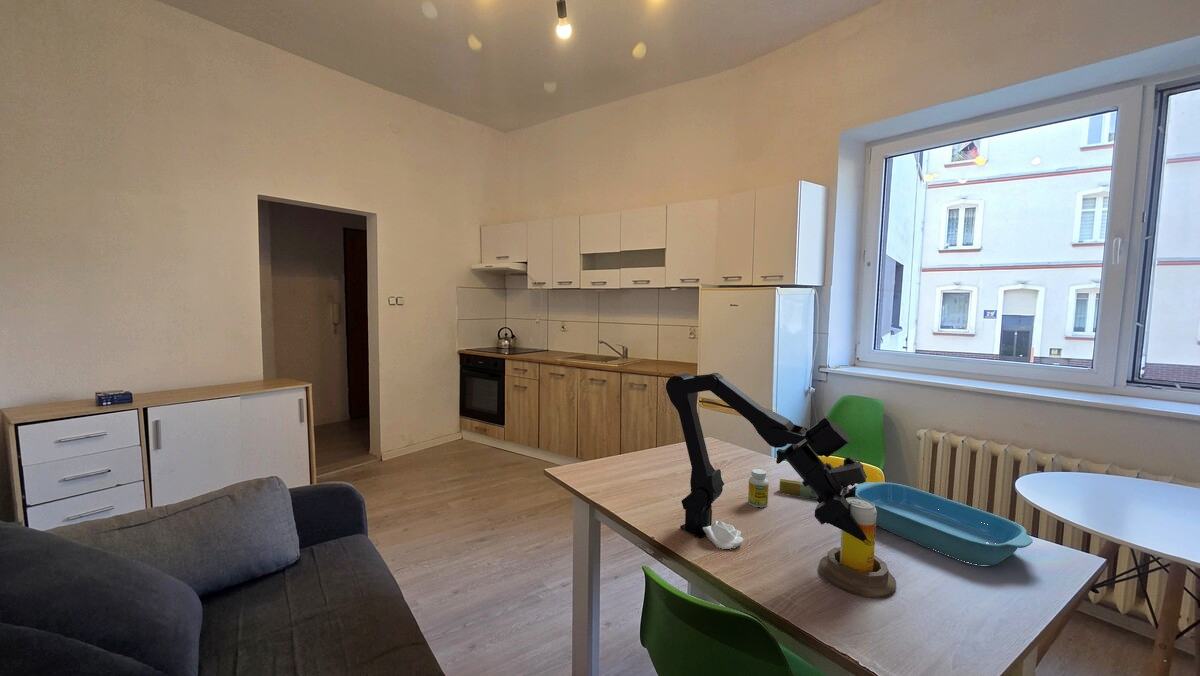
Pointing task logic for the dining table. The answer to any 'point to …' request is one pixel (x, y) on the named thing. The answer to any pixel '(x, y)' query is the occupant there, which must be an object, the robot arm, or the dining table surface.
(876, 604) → the dining table surface
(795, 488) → the medication box
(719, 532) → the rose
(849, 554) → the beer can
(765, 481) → the supplement bottle
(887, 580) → the can holder
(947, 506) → the casserole dish
